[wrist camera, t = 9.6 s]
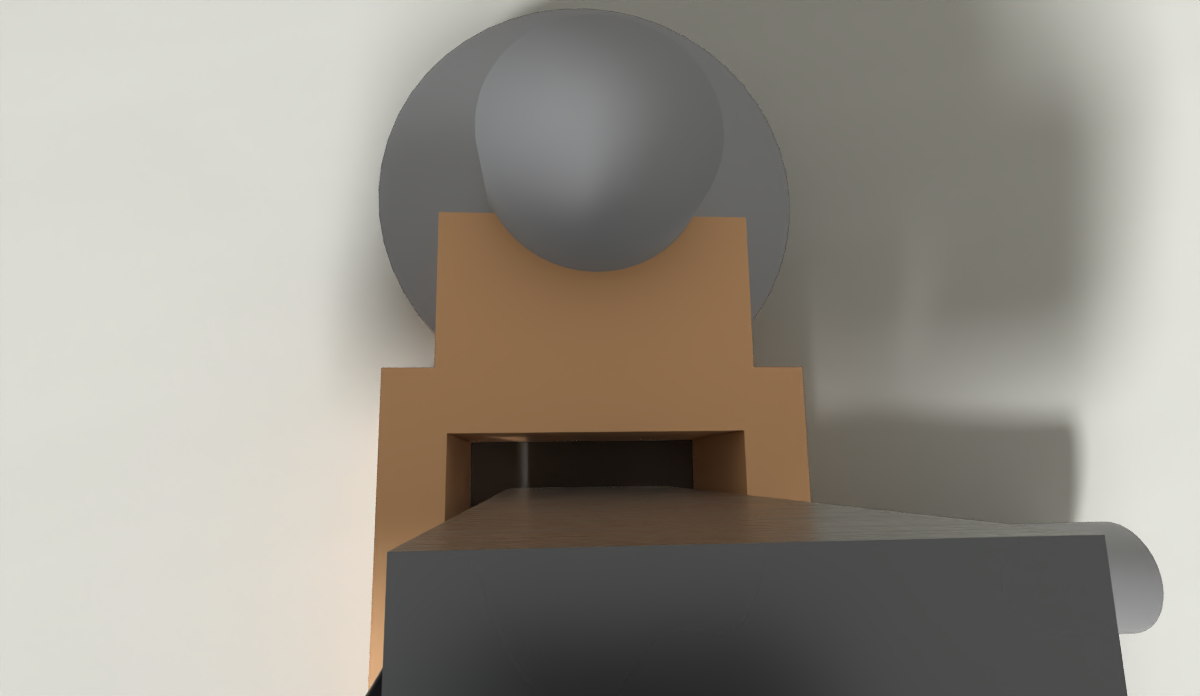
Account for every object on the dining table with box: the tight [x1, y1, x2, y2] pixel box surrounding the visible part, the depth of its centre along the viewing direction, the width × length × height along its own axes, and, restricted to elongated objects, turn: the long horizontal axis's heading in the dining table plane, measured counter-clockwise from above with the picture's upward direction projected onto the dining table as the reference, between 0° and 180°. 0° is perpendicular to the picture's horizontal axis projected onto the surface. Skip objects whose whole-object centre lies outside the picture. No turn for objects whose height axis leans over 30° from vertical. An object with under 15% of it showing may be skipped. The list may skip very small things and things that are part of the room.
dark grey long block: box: [382, 486, 1127, 696], centre depth 9 cm, size 4×4×12 cm
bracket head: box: [368, 9, 1163, 691], centre depth 15 cm, size 17×16×6 cm
